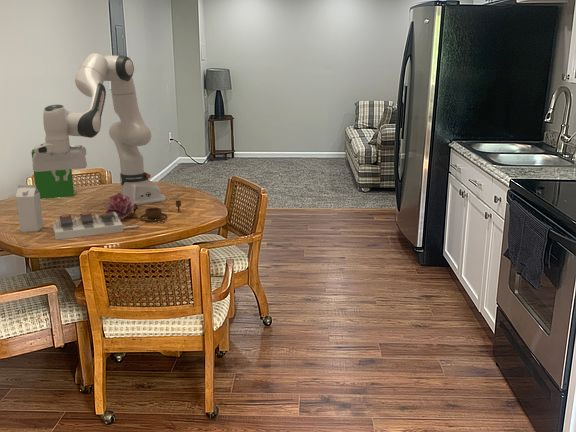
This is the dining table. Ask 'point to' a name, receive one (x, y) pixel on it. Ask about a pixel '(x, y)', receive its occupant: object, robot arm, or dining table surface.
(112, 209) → the flower
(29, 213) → the milk carton
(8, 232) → the dining table surface
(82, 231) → the power strip
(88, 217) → the rocker middle
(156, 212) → the place setting
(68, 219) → the rocker far end
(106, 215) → the rocker near arm
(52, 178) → the hardback book
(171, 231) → the dining table surface
